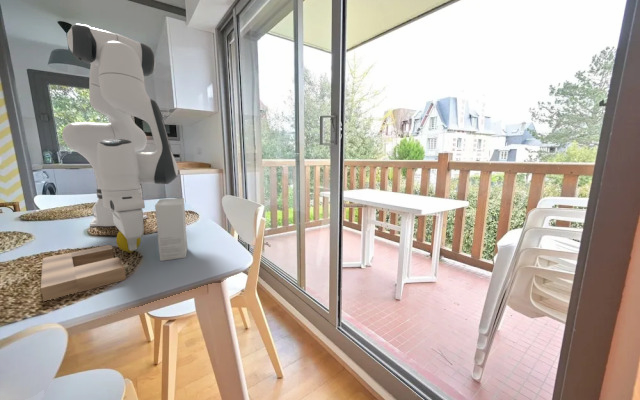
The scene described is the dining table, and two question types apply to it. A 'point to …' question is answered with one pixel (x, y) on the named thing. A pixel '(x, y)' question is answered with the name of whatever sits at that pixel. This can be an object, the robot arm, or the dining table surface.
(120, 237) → the lemon
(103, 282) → the notched board
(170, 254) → the skincare box
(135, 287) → the dining table surface
